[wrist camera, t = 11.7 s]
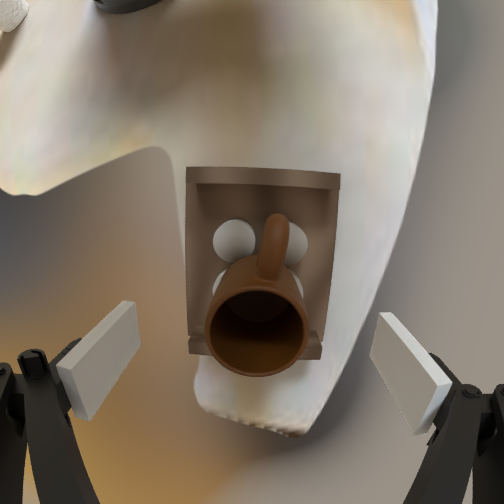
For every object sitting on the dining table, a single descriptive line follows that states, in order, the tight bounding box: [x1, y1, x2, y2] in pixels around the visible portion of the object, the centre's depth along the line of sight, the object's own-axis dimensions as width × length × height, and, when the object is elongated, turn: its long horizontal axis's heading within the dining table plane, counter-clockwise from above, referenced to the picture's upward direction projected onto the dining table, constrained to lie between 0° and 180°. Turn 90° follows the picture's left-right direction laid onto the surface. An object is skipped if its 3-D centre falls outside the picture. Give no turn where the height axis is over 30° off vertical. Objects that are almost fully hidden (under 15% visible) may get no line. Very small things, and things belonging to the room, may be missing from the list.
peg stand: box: [185, 167, 341, 360], centre depth 30 cm, size 16×19×5 cm
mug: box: [204, 214, 309, 377], centre depth 24 cm, size 12×8×9 cm, turn 169°
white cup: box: [0, 0, 29, 32], centre depth 19 cm, size 8×8×10 cm
